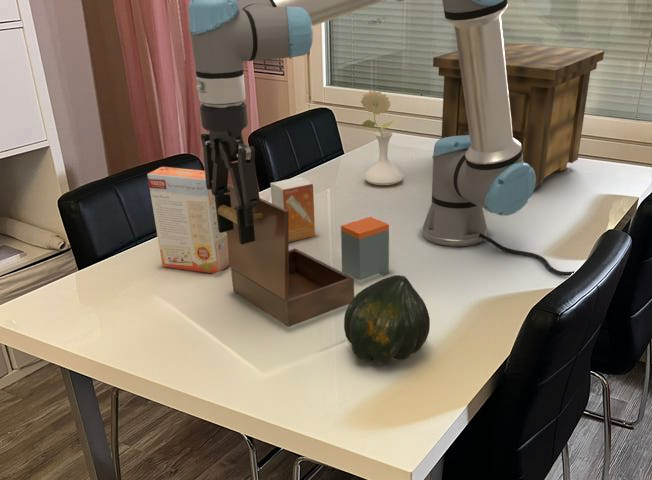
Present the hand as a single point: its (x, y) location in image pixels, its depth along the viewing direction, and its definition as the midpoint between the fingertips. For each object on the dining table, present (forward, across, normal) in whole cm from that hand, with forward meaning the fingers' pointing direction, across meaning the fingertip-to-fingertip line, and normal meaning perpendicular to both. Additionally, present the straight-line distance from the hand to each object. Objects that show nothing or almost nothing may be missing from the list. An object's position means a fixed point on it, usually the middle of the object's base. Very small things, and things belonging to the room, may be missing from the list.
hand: (236, 236), depth 129 cm
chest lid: (+2, 0, +4) cm, 5 cm away
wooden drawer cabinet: (+16, -28, +109) cm, 114 cm away
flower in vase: (+16, -45, +74) cm, 88 cm away
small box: (+16, -28, +31) cm, 45 cm away
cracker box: (+17, -27, +5) cm, 32 cm away
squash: (+17, +27, +12) cm, 34 cm away
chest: (+16, 0, +11) cm, 20 cm away
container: (+16, 0, +30) cm, 34 cm away
